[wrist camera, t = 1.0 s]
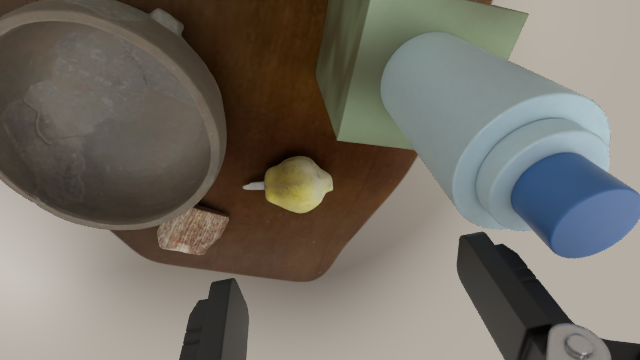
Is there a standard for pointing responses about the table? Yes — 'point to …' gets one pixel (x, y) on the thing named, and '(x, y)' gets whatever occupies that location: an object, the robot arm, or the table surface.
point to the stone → (192, 230)
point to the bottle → (509, 144)
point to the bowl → (106, 113)
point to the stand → (381, 43)
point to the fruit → (295, 184)
